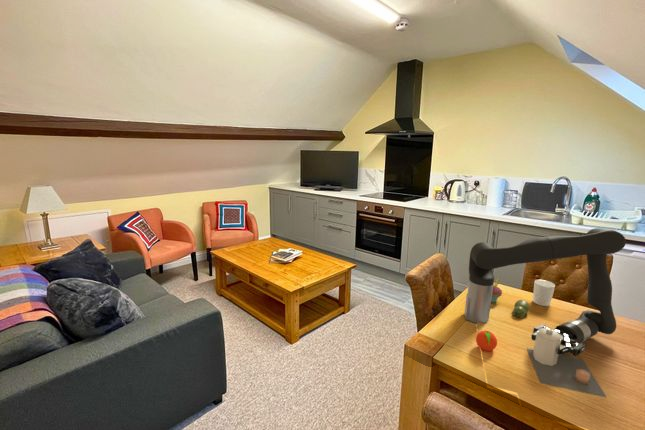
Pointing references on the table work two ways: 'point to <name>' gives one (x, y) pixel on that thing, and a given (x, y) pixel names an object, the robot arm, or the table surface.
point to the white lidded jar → (546, 346)
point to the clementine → (486, 340)
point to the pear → (521, 308)
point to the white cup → (543, 292)
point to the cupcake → (496, 292)
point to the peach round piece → (582, 376)
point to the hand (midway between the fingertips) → (545, 344)
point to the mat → (565, 374)
